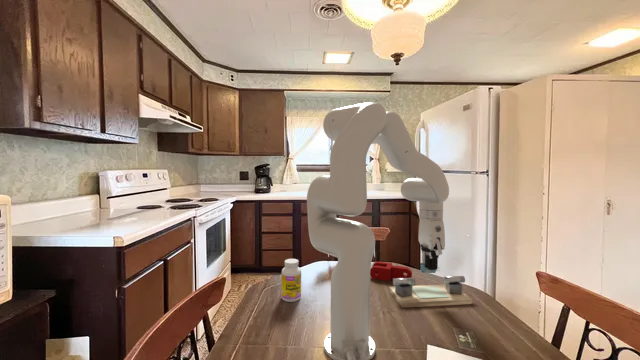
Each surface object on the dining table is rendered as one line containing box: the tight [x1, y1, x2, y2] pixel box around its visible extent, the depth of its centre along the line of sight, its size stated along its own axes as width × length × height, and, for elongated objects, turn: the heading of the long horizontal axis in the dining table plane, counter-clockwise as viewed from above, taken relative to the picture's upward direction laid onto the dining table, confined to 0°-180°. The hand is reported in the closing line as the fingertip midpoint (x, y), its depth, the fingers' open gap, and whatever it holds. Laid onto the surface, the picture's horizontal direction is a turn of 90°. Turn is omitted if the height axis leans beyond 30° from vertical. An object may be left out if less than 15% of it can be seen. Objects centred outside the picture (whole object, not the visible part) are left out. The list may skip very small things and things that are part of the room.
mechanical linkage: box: [370, 261, 413, 282], centre depth 114 cm, size 16×7×5 cm, turn 69°
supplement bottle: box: [280, 258, 302, 303], centre depth 96 cm, size 7×7×13 cm
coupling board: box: [388, 283, 474, 308], centre depth 98 cm, size 12×24×2 cm, turn 96°
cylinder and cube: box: [392, 275, 466, 297], centre depth 97 cm, size 5×25×5 cm, turn 96°
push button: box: [419, 243, 441, 274], centre depth 97 cm, size 7×5×10 cm
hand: (429, 266), depth 97 cm, fingers closed on push button, 3 cm apart
